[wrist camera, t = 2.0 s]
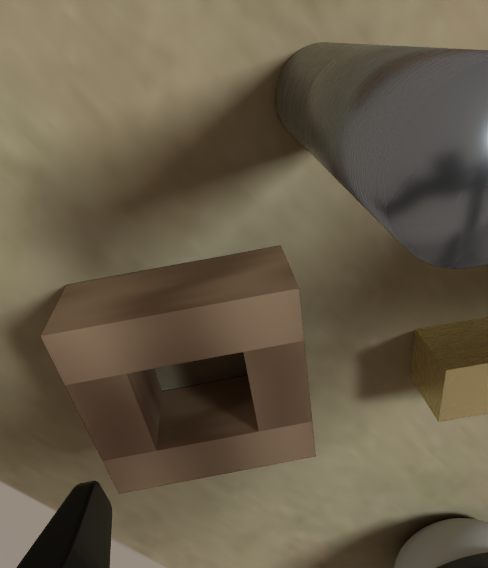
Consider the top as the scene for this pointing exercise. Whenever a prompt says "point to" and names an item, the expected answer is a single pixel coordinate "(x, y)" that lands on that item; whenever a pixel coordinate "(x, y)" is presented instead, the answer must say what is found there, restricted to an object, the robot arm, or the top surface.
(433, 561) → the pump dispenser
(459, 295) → the top surface
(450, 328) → the square bit
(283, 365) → the socket block
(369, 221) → the top surface
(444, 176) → the cylinder
